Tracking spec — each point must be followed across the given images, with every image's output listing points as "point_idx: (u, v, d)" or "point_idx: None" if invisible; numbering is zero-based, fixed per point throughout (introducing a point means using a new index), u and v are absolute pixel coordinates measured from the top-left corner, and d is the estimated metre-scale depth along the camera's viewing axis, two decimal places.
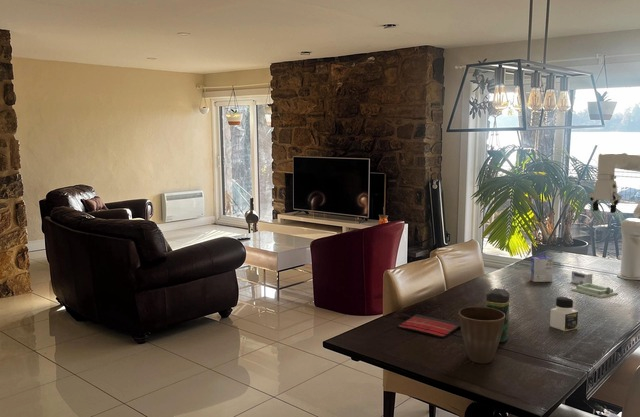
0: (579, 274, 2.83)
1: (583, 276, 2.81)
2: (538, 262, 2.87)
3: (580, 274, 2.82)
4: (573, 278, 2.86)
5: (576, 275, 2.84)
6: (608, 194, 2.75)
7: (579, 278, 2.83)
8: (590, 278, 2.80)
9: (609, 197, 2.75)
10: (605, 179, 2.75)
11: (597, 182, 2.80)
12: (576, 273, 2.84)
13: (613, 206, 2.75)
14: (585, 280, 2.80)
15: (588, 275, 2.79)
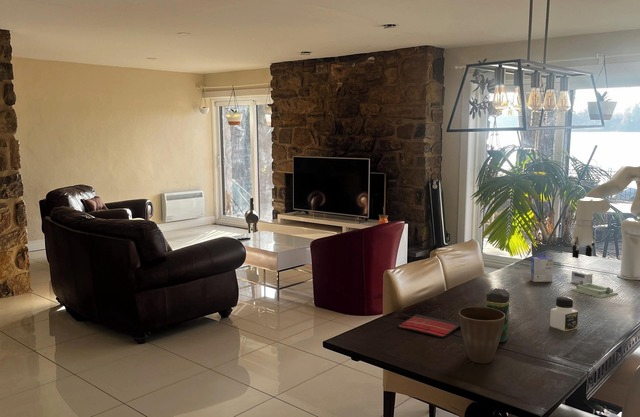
0: (579, 274, 2.83)
1: (583, 276, 2.81)
2: (538, 262, 2.87)
3: (580, 274, 2.82)
4: (573, 278, 2.86)
5: (576, 275, 2.84)
6: (591, 239, 2.81)
7: (579, 278, 2.83)
8: (590, 278, 2.80)
9: (591, 242, 2.82)
10: None
11: (583, 229, 2.78)
12: (576, 273, 2.84)
13: None
14: (585, 280, 2.80)
15: (588, 275, 2.79)
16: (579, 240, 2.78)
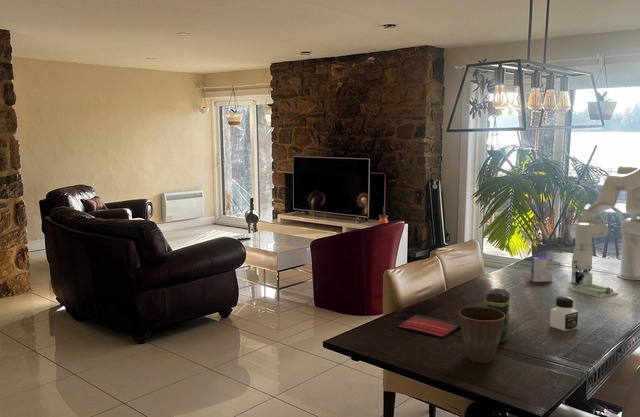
0: None
1: (583, 276, 2.81)
2: (538, 262, 2.87)
3: None
4: (573, 278, 2.86)
5: None
6: (590, 262, 2.83)
7: None
8: (590, 278, 2.80)
9: (591, 265, 2.83)
10: None
11: (583, 253, 2.79)
12: None
13: None
14: (585, 280, 2.80)
15: (588, 275, 2.79)
16: (578, 264, 2.79)
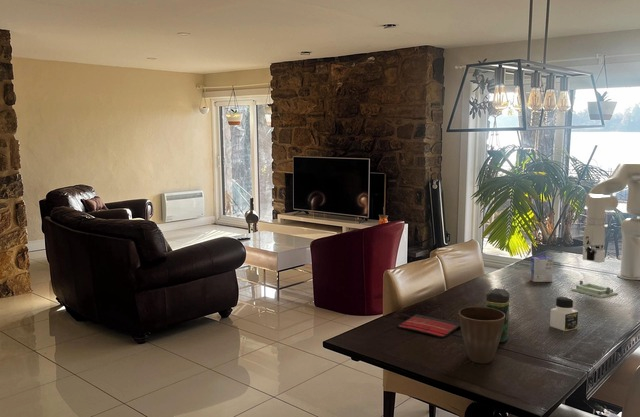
0: None
1: (595, 252, 2.65)
2: (538, 262, 2.87)
3: None
4: (584, 255, 2.70)
5: None
6: (603, 238, 2.67)
7: None
8: (602, 254, 2.64)
9: (604, 241, 2.67)
10: None
11: (595, 228, 2.63)
12: None
13: None
14: (597, 256, 2.64)
15: (600, 251, 2.63)
16: (590, 240, 2.63)
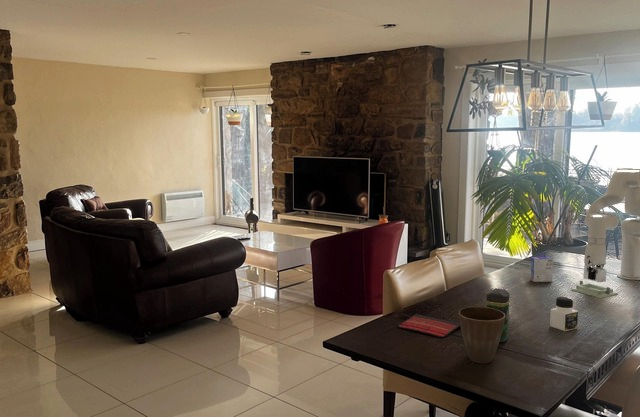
0: None
1: (596, 271, 2.63)
2: (538, 262, 2.87)
3: None
4: (585, 274, 2.69)
5: None
6: (604, 257, 2.65)
7: None
8: (604, 274, 2.63)
9: (605, 260, 2.66)
10: None
11: (596, 247, 2.62)
12: None
13: None
14: (598, 276, 2.63)
15: (602, 270, 2.62)
16: (592, 259, 2.62)
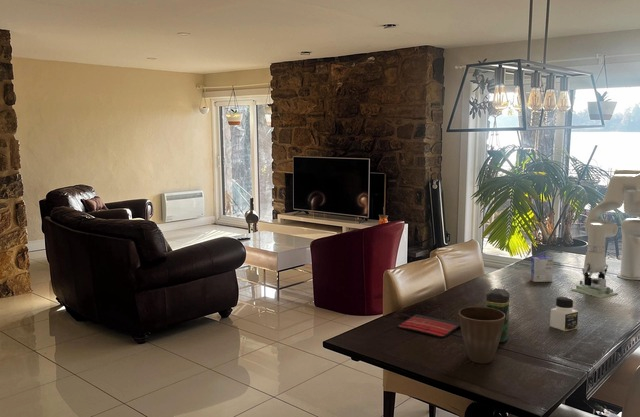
0: (591, 280, 2.66)
1: (596, 282, 2.64)
2: (538, 262, 2.87)
3: (593, 280, 2.66)
4: None
5: None
6: (604, 265, 2.66)
7: (591, 284, 2.67)
8: (603, 284, 2.64)
9: (604, 268, 2.66)
10: (604, 250, 2.64)
11: (596, 255, 2.62)
12: None
13: None
14: (598, 286, 2.63)
15: (601, 281, 2.63)
16: (591, 267, 2.63)
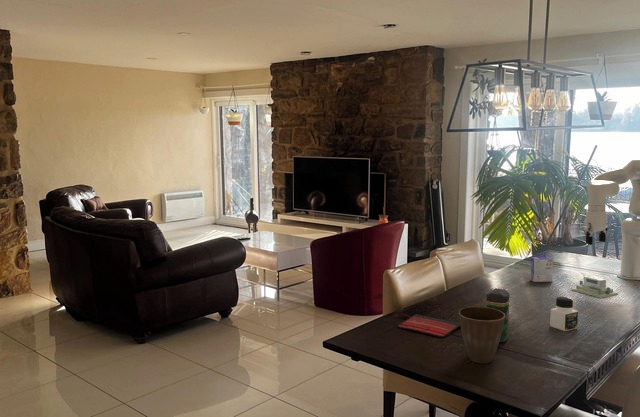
0: (591, 280, 2.66)
1: (596, 282, 2.64)
2: (538, 262, 2.87)
3: (593, 280, 2.66)
4: (585, 284, 2.70)
5: (588, 281, 2.68)
6: (605, 224, 2.71)
7: (591, 284, 2.67)
8: (603, 284, 2.64)
9: (605, 227, 2.71)
10: None
11: (596, 214, 2.67)
12: (588, 279, 2.68)
13: None
14: (598, 286, 2.63)
15: (601, 281, 2.63)
16: (592, 226, 2.67)
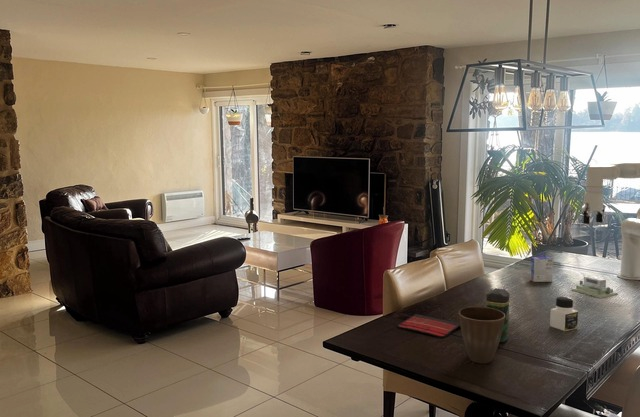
0: (591, 280, 2.66)
1: (596, 282, 2.64)
2: (538, 262, 2.87)
3: (593, 280, 2.66)
4: (585, 284, 2.70)
5: (588, 281, 2.68)
6: (602, 205, 2.85)
7: (591, 284, 2.67)
8: (603, 284, 2.64)
9: (602, 208, 2.86)
10: None
11: (594, 195, 2.81)
12: (588, 279, 2.68)
13: None
14: (598, 286, 2.63)
15: (601, 281, 2.63)
16: (590, 206, 2.82)
